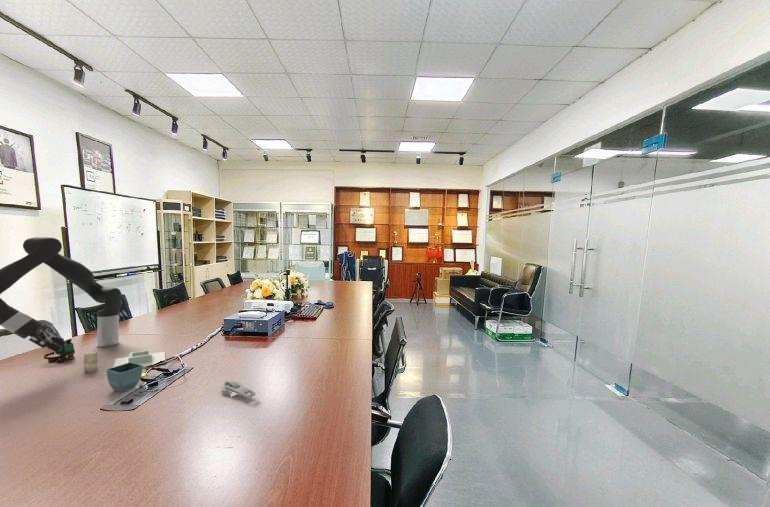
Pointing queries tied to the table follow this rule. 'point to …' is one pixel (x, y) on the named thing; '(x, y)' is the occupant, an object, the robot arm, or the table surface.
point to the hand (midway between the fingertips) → (61, 346)
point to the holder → (141, 358)
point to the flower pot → (124, 376)
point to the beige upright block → (90, 362)
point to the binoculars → (62, 352)
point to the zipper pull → (236, 389)
